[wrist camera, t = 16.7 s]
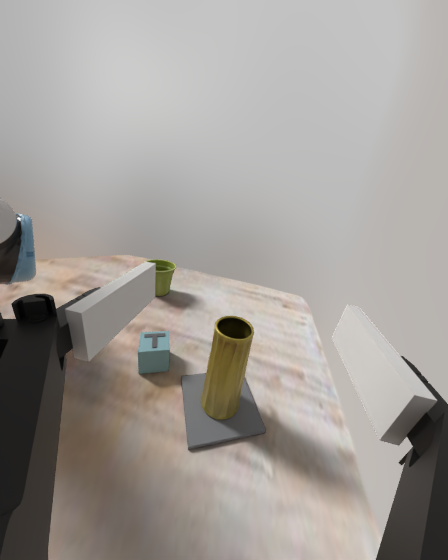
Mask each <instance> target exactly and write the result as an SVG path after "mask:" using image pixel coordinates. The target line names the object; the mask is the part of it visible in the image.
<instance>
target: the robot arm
mask: <svg viewBox="0 0 448 560" xmlns="http://www.w3.org/2000/svg"><path fill="white" fill-rule="evenodd" d="M34 252H35V251H34V239H33V227H32V220H31V218H30V217H29V216H27V215H22V214H18V213H17V214H15V213H14V211H13V209H12V208H11V207H10V205H9V204H8V203H6V202H5V201H4V200H2V199H1V198H0V284H12V283H15V282H23V281H29V280H31V279H33V278H34V277H35V275H36V264H35V253H34ZM155 276H156V264H155V263H150V262H144V263H142V264H140V265H139V266H137V267H135V268H134V269H132V270H130V271H129V272H127V273H125V274H124V275H122V276H120V277H118V278H117V279H115V280H113V281H112V282H110V283H108V284H107V285H105V286H103V287H102V288H100V287H98V288H95V289H92V290H89V291H87V292H85V293H84V294H82V295H81V296H78V297H77V298H75V299H73V300H71V301H69V302H68V303H66V304H64V305H62V306H61V307H59V308H57V309H56V307H55V302H54V298H53V296H51V295H48V294H33V295H28V296H24V297H21V298H19V299H17V300H15V301H14V302H13V303H12V307H13V311H14V314H15V317H16V319H3V318H2V315H1V313H0V560H48V542H49V532H50V522H51V512H52V502H53V492H54V481H55V471H56V461H57V451H58V441H59V431H60V421H61V411H62V400H63V390H64V380H65V370H66V355H65V354H66V353H67V352H69V351H70V350H71V349H73V354H74V358H76V359H80V360H83V361H87V362H89V361H90V360H91V359H92V358H93V357H94V356H96V355H97V354H98V353H99V352H100V351H101V350H102V349H103V348H104V347H105V346H106V345H107V344H108V343H109V342H110V341H111V340H112V339H113V338H114V337H115V336H116V335H117V334H118V333H119V332H120V331H121V330H122V329H123V328H124V327H125V326H126V325H127V324H128V323H129V322H130V321H131V320H132V319H133V318H134V317H136V316H137V315H138V314H139V313H140V312H141V311H142V310H143V309H144V308H145V307H146V306H147V305H148V304H149V303H150V302H151V301H152V300H153V299H154V298H155ZM332 340H333V341H334V344H335V346H336V348H337V350H338V353H339V355H340V357H341V359H342V361H343V363H344V365H345V367H346V370H347V372H348V374H349V376H350V378H351V380H352V383H353V385H354V387H355V389H356V391H357V393H358V395H359V398H360V400H361V402H362V404H363V406H364V408H365V410H366V412H367V415H368V417H369V419H370V421H371V423H372V425H373V427H374V430H375V431H376V434H377V436H378V438H379V440H381V441H384V442H388V443H392V444H395V445H400V444H401V443H402V441H403V440H404V439H405V438H406V437H408V439H409V440H410V442H411V444H412V445H413V447H412V449H411V450H410V451H409V452H408V453H407V454H406V455H405V456H404V457H403V458H402V460H401V461H400V462H399V463H400V464H401V465H403V464H404V463H405V464H404V468H403V471H402V474H401V478H400V481H399V484H398V488H397V491H396V495H395V498H394V501H393V504H392V508H391V511H390V514H389V518H388V521H387V524H386V528H385V531H384V534H383V538H382V541H381V544H380V548H379V551H378V554H377V558H376V560H448V404H447V403H446V402H445V400H444V399H443V398H442V397H441V396H440V395H439V394H438V392H437V391H436V390H435V389H434V388H433V387H432V386H431V384H429V383H428V381H427V380H426V379H425V377H424V376H422V375H421V373H420V372H419V371H418V369H417V368H416V367H415V366H414V365H413V364H412V363H410V362H409V361H408V360H407V359H405V358H404V357H403V356H400V355H399V354H398V353H397V351H396V350H395V349H394V348H393V347H392V345H391V344H390V343H389V342H388V341H387V340H386V338H385V337H384V336H383V335H382V333H381V332H380V331H379V330H378V329H377V328H376V326H375V325H374V324H373V323H372V322H371V320H370V319H369V318H368V317H367V316H366V314H365V313H364V312H363V311H362V310H361V309H360V307H357V306H353V305H347V306H346V308H345V310H344V312H343V314H342V317H341V319H340V321H339V323H338V325H337V327H336V330H335V332H334V334H333V336H332Z"/></svg>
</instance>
